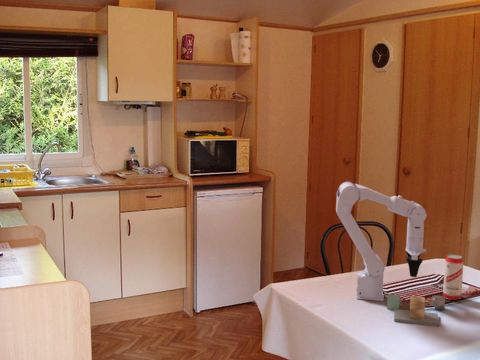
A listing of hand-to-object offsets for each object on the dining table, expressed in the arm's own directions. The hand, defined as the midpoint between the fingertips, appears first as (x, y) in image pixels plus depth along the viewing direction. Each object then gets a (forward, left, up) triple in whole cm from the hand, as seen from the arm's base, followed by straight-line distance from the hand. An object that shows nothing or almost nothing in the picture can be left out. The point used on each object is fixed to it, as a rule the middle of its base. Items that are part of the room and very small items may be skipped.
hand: (413, 273), depth 200 cm
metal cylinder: (+8, -8, -10) cm, 15 cm away
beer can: (+14, +3, -10) cm, 17 cm away
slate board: (+1, -19, -9) cm, 21 cm away
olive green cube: (-6, -11, -10) cm, 16 cm away
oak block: (+1, -19, -8) cm, 21 cm away
